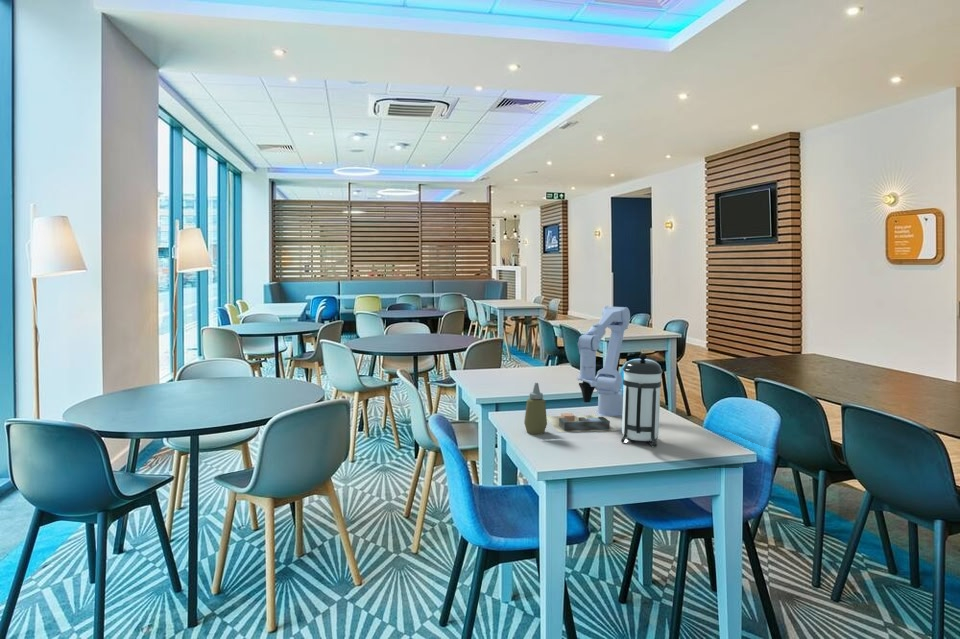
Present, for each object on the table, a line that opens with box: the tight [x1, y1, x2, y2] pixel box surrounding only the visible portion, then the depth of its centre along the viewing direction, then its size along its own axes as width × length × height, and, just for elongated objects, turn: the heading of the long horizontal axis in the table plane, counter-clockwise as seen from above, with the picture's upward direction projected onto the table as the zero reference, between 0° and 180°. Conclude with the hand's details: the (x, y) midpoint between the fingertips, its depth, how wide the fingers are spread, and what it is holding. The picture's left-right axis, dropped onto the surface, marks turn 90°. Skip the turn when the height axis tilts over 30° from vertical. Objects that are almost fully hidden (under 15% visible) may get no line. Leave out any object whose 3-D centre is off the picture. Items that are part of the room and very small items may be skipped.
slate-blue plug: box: [587, 418, 600, 421], centre depth 206 cm, size 4×4×3 cm
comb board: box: [546, 414, 618, 433], centre depth 211 cm, size 22×22×4 cm
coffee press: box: [620, 353, 663, 447], centre depth 189 cm, size 17×16×30 cm
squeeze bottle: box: [524, 382, 548, 435], centre depth 198 cm, size 8×8×18 cm
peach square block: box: [560, 412, 576, 421], centre depth 212 cm, size 4×4×3 cm
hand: (586, 401), depth 213 cm, fingers closed
